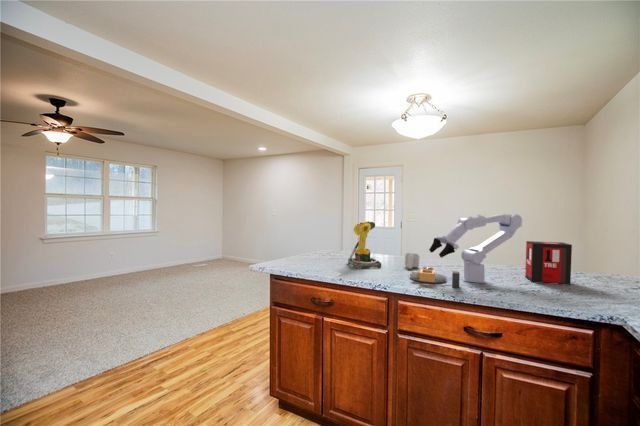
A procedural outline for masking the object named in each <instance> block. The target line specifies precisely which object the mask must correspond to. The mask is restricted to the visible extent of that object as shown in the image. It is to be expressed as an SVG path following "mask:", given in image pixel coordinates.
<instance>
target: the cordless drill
mask: <svg viewBox="0 0 640 426" xmlns="http://www.w3.org/2000/svg"><path fill="white" fill-rule="evenodd" d="M375 227H376V223H375V222H373V221H364V222H361V223H358V224H356V225H355V226H354V227H353V232H354V233H355V234H356V236H359V237H358V242H356V244H355V245H354V248H353V250H352V252H351V254H350V256H349V257H348V260H347V261H348V262H347V263H348V265H352V266H353V268H355V269H359V268H361V269H362V270H363V269H365V270H366V269H367V270H368V269H370V268H378V269H381V268H382V263H381V261H380V260H377V259H375V258H373V257H371V249H368V248H366V239H367V238H368V234H369V232H370V231H372V230H373V229H374V228H375ZM353 256H354V257H353ZM352 257H353V258H352Z"/></svg>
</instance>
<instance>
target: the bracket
mask: <svg viewBox="0 0 640 426" xmlns="http://www.w3.org/2000/svg"><path fill="white" fill-rule="evenodd" d="M411 274H412V277H418V278H419V281H428V282H434V281H435V274H436V270H435V269H433V270H426V269H423V268H420V270H419V271H416V270H415V271H414V270H412V271H411Z"/></svg>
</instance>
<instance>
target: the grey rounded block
mask: <svg viewBox="0 0 640 426" xmlns="http://www.w3.org/2000/svg"><path fill="white" fill-rule="evenodd" d="M404 257H405V258H404V266H405V267H406V269H407V270H413V268H417V269H418V268H419V267H420V255H419V254H418V253H410V252H409V253H405V256H404Z"/></svg>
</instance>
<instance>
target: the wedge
mask: <svg viewBox="0 0 640 426" xmlns="http://www.w3.org/2000/svg"><path fill="white" fill-rule="evenodd" d="M451 274H452V276H451V279H452V280H451V287H452V288H454V289H460V277H461V276H460V271H455V270H452V272H451Z"/></svg>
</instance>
